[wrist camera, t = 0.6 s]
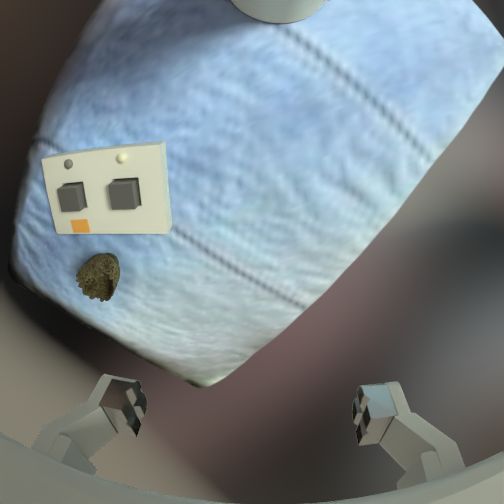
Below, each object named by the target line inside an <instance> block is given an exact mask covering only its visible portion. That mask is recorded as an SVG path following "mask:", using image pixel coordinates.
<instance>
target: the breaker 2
mask: <svg viewBox="0 0 504 504" xmlns="http://www.w3.org/2000/svg"><path fill="white" fill-rule="evenodd" d="M108 189H109V196H110V202H111V208H112V210H129V209H136V208H137V207H138V206H139V205H140V204H141V196H140V187H139V178H138V177H136V178H119V179H115V180H114V181H112V182H111V183H110V184H108Z"/></svg>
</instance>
